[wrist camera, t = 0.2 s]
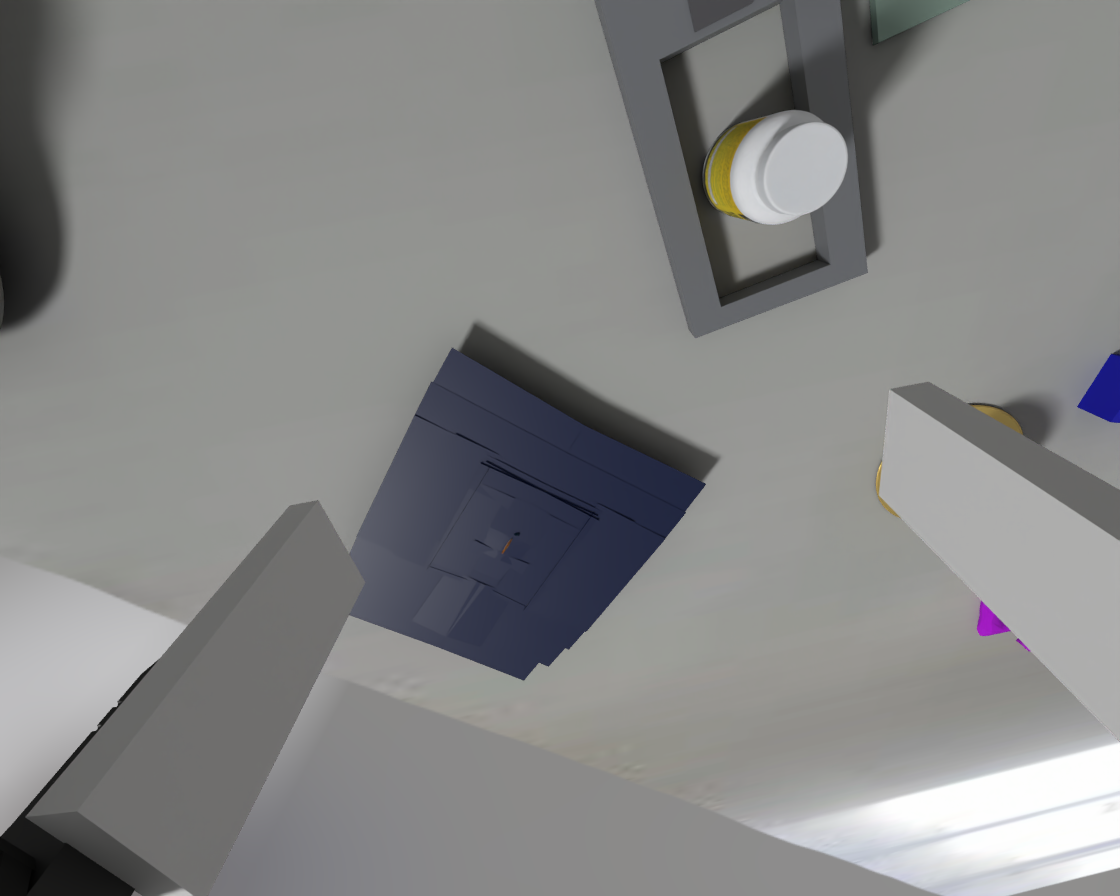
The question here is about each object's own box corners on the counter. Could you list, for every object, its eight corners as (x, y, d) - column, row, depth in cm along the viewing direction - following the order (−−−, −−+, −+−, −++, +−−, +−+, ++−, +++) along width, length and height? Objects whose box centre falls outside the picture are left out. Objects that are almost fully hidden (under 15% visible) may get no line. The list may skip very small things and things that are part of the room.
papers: (334, 585, 50) (318, 612, 47) (455, 335, 38) (445, 349, 35) (539, 664, 56) (538, 693, 53) (700, 469, 44) (712, 491, 41)
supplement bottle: (703, 224, 34) (749, 241, 25) (697, 133, 31) (746, 117, 23) (784, 206, 33) (860, 216, 24) (784, 111, 30) (869, 86, 22)
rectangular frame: (528, -231, 24) (523, -274, 22) (776, -396, 21) (800, -463, 19) (689, 330, 37) (697, 340, 35) (852, 268, 35) (872, 274, 33)
